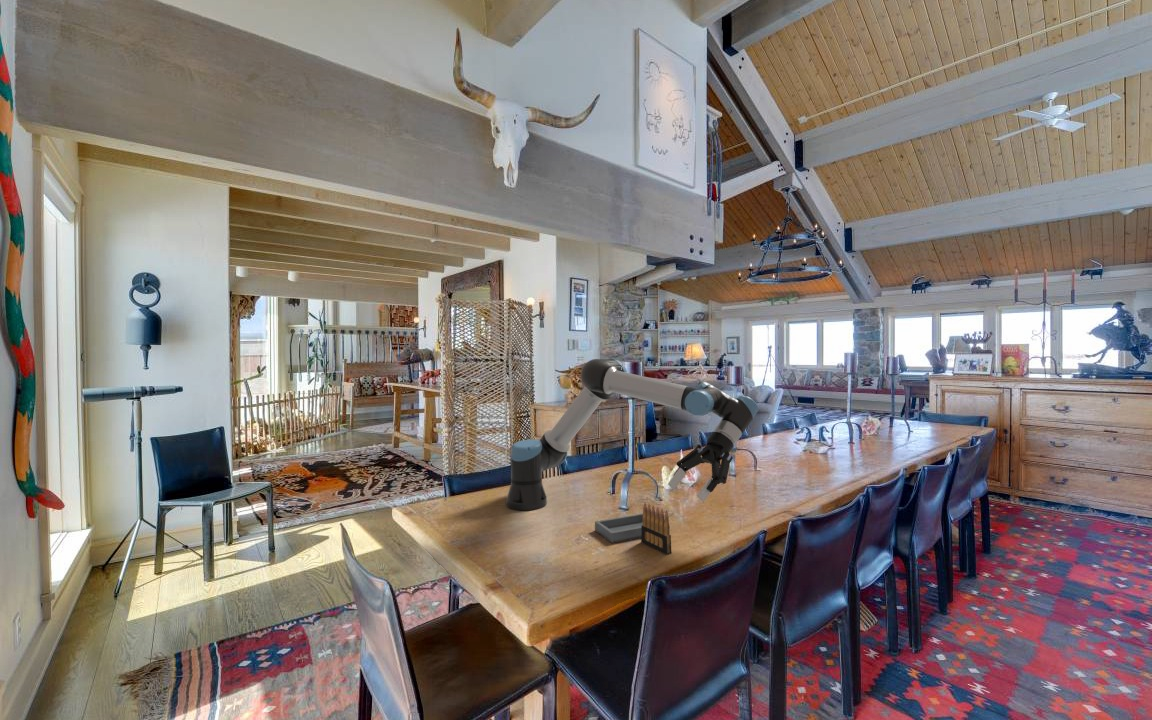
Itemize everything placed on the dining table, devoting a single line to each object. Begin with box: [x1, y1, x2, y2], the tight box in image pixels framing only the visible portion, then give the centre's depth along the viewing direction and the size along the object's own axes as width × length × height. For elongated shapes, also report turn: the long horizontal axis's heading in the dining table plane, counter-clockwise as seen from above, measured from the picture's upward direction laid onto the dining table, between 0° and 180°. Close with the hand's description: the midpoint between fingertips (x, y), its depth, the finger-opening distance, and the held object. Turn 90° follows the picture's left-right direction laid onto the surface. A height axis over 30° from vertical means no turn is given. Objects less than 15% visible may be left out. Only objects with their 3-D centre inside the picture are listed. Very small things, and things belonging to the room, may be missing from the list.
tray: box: [594, 512, 643, 544], centre depth 145 cm, size 11×20×3 cm, turn 115°
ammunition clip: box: [640, 502, 672, 556], centre depth 132 cm, size 11×2×12 cm, turn 34°
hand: (684, 492), depth 137 cm, fingers open, 13 cm apart
